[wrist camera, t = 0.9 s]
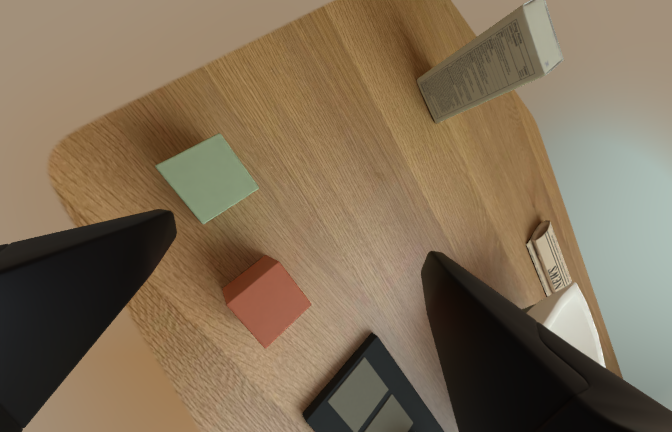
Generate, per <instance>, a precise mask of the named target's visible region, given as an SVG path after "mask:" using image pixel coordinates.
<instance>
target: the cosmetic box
mask: <svg viewBox="0 0 672 432" xmlns="http://www.w3.org/2000/svg"><path fill="white" fill-rule="evenodd" d="M562 61H563V56H562V53H561V50H560V47H559V43H558V41H557V37H556V34H555V31H554V28H553V24H552V21H551V19H550V15H549V12H548V9H547V5H546V2H545V0H531V1H529V2H527V3H525V4H523V5H522V6H520V7H519V8H517V9H516V10H515V11H513V12H512V13H510V14H509V15H508V16H506V17H505V18H503V19H502V20H500V21H499V22H498V23H496V24H495V25H493V26H492V27H490V28H489V29H488V30H486V31H485V32H483V33H482V34H481V35H479V36H478V37H476V38H475V39H473V40H472V41H471V42H469V43H468V44H466V45H465V46H463V47H462V48H461V49H459V50H458V51H456V52H455V53H453V54H452V55H451V56H449V57H448V58H446V59H445V60H444V61H442V62H441V63H439V64H438V65H436V66H435V67H433V68H432V69H431V70H429V71H428V72H426V73H425V74H424V75H422V76H421V77H419V78H418V79H417V83H418V86H419V88H420V90H421V93H422V95H423V97H424V99H425V101H426V104H427V106H428V108H429V111H430V113H431V115H432V117H433V119H434V121H435V123H439V122H441V121H443V120H446V119H448V118H450V117H453V116H455V115H457V114H459V113H461V112H464V111H466V110H468V109H471V108H473V107H475V106H477V105H480V104H482V103H484V102H486V101H489V100H491V99H493V98H496V97H498V96H500V95H502V94H505V93H507V92H509V91H511V90H514V89H516V88H518V87H520V86H522V85H525V84H527V83H529V82H532V81H534V80H536V79H538V78H541V77H543V76H545V75H546V74H548V73H549V72H550V71H552V70H553V69H554V68H555V67H556V66H557V65H559V63H561V62H562Z"/></svg>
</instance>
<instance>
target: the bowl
mask: <svg viewBox="0 0 672 432" xmlns="http://www.w3.org/2000/svg"><path fill="white" fill-rule="evenodd" d="M522 310H523V311H524V312H525V313H527V314H528V315H530V316H531V317H532V318H534V319H535V320H536V322H539V323H541V324H542V325H544V326H545V327H546V328H548V329H549V330H550V331H552V332H553V333H555V334H556V335H558V336H559V337H560V338H562V339H563V340H565V341H566V342H568V343H569V344H570V345H572V346H573V347H575V348H576V349H578V350H579V351H581V352H582V353H584V354H585V355H587V356H588V357H590V358H591V359H593V360H594V361H596V362H597V363H599V364H600V365H602V366H603V367H605V362H604V358H603V354H602V349H601V345H600V341H599V337H598V333H597V330H596V327H595V324H594V322H593V319H592V316H591V313H590V310H589V308H588V305H587V302H586V300H585V299H584V297H583V295H582V293H581V291H580V289H579V287H578V285H577V283H574V282H573V283H571V284H569V285H568V286H566V287H564V288H562V289H560V290H559V291H557V292H555V293H553V294H551V295H550V296H548V297H546V298H544V299H543V300H541V301H539V302H538V303H536V304H535V305H532V306H529V307H527V308H524V309H522ZM605 368H606V367H605Z"/></svg>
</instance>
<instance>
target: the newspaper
mask: <svg viewBox="0 0 672 432" xmlns="http://www.w3.org/2000/svg"><path fill="white" fill-rule="evenodd" d="M526 245H527V247H528V250H529V252H530V255H531V257H532V260H533V262H534V265H535V267H536V270H537V272H538V275H539V277H540V280H541V282H542V285H543V287H544V290H545V292H546V295H547V297H548V296H550V295H551V294H553V293H555V292H557V291H559V290H560V289H562V288H564V287H566V286H568V285H569V284H571V283H572V280H571V278H570V275H569V272H568V269H567V267H566V264H565V261H564V258H563V256H562V253H561V250H560V247H559V245H558V242H557V239H556V236H555V233H554V231H553V228H552V225H551V222H550V221H549V220H546V221H544V222H542V223H541V224H540V225H538V227H537V228H536V230H535V232H534V233H533V235H532V237H531V239H530V241H529V242H528V244H526Z"/></svg>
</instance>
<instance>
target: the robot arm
mask: <svg viewBox="0 0 672 432" xmlns="http://www.w3.org/2000/svg"><path fill="white" fill-rule="evenodd" d="M176 234H177V230H176V224H175V219H174V214H173V213H172V212H171V211H169V210H162V209H156V210H152V211H148V212H143V213H139V214H135V215H130V216H126V217H122V218H117V219H113V220H109V221H104V222H100V223H96V224H91V225H87V226H82V227H78V228H74V229H70V230H65V231H61V232H56V233H52V234H48V235H43V236H39V237H35V238H30V239H26V240H22V241H17V242H13V243H11V244H4V245H0V432H22V430H23V429H22V428H25V427H26V425H27V424H28V423H29V422H30V421H31V419H32V418H33V417H34V416H35V415H36V413H37V412H38V411H39V410H40V409H41V407H42V406H43V405H44V404H45V402H46V401H47V400H48V399H49V398H50V396H51V395H52V394H53V393H54V392H55V390H56V389H57V388H58V387H59V386H60V384H61V383H62V382H63V381H64V379H65V378H66V377H67V376H68V375H69V373H70V372H71V371H72V370H73V369H74V367H75V366H76V365H77V364H78V362H79V361H80V360H81V359H82V357H83V356H84V355H85V354H86V353H87V352H88V350H89V349H90V348H91V347H92V346H93V344H94V343H95V342H96V341H97V339H98V338H99V337H100V336H101V334H102V333H103V332H104V331H105V330H106V328H107V327H108V326H109V325H110V324H111V322H112V321H113V320H114V319H115V318H116V316H117V315H118V314H119V313H120V312H121V310H122V309H123V308H124V307H125V306H126V304H127V303H128V302H129V301H130V300H131V298H132V297H133V296H134V295H135V293H136V292H137V291H138V290H139V289H140V287H141V286H142V285H143V284H144V283H145V281H146V280H147V279H148V278H149V276H150V275H151V274H152V272H153V271H154V269H155V268H156V267H157V265H158V264H159V262H160V261H161V259H162V258H163V256H164V255H165V253H166V252H167V250H168V248H169V247H170V245H171V244H172V242H173V241H174V239H175V238H176ZM421 278H422V285H423V291H424V298H425V304H426V310H427V315H428V319H429V323H430V327H431V331H432V334H433V338H434V342H435V345H436V349H437V353H438V356H439V360H440V364H441V367H442V371H443V375H444V379H445V382H446V386H447V390H448V393H449V397H450V401H451V404H452V408H453V412H454V415H455V419H456V423H457V426H458V430H459V432H672V411H670V410H669V409H667V408H666V407H664V406H663V405H661V404H660V403H658V402H657V401H655V400H654V399H652V398H650V397H649V396H647V395H646V394H644V393H643V392H641V391H640V390H638V389H637V388H635V387H634V386H632V385H631V384H629V383H628V382H626V381H625V380H623V379H622V378H620V377H618V376H617V375H615V374H614V373H612V372H611V371H609V370H608V369H606V368H605V367H603V366H602V365H600V364H599V363H597V362H596V361H594V360H593V359H591V358H590V357H588V356H587V355H585V354H584V353H582V352H581V351H579V350H578V349H576V348H575V347H573V346H572V345H570V344H569V343H568V342H566V341H565V340H563V339H562V338H560V337H559V336H558V335H556V334H555V333H553V332H552V331H550V330H549V329H548V328H546V327H545V326H544V325H542V324H541V323H539V322H536V320H535V319H534V318H532V317H531V316H530V315H528V314H527V313H525V312H524V311H523V310H521V309H520V308H518V307H517V306H516V305H514V304H513V303H511V302H510V301H509V300H507V299H506V298H504V297H503V296H502V295H500V294H499V293H498V292H496V291H495V290H493V289H492V288H491V287H489V286H488V285H486V284H485V283H484V282H482V281H481V280H479V279H478V278H477V277H475V276H474V275H472V274H471V273H470V272H468V271H467V270H466V269H464V268H463V267H461V266H460V265H459V264H457V263H456V262H454V261H453V260H452V259H450V258H449V257H447V256H446V255H445V254H443V253H441V252H436V251H430V252H429V253H428V255H427V257H426V259H425V262H424V264H423V267H422V270H421Z"/></svg>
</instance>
